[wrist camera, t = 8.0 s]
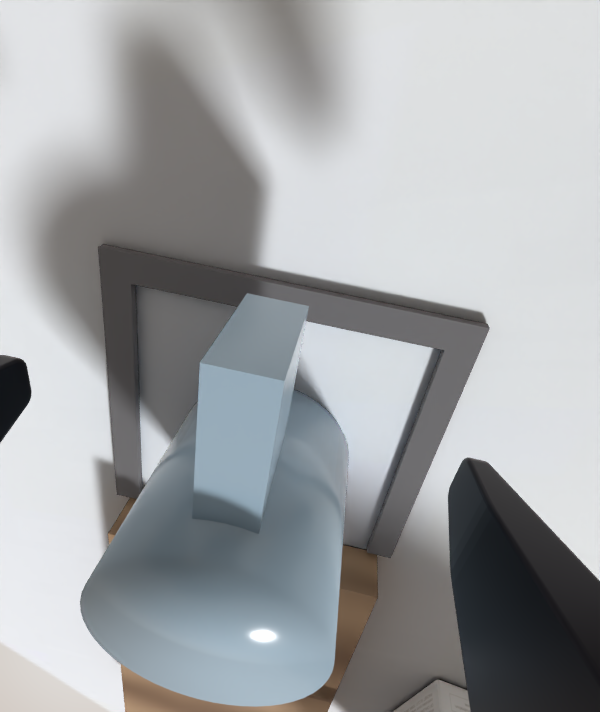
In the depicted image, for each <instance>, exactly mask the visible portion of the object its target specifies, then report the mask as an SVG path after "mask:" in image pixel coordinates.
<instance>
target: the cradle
mask: <svg viewBox="0 0 600 712" xmlns="http://www.w3.org/2000/svg"><path fill="white" fill-rule="evenodd" d="M136 500H137V499H135V498H130V499H129V501H128V502H127V504H126V505H125V507H124V509H123V510H122V512H121V514H120V515H119V517H118V518H117V520H116V522H115V523H114V525H113V526H112V528H111V530H110V531H109V533H108V539H109V545H110V543H111V541H112V540H113V538H114V536H115V535H116V533H117V531H118V530H119V528H120V526H121V525H122V523H123V521H124V520H125V518H126V517H127V515H128V513H129V512H130V510H131V508H132V507H133V505H134V503H135V502H136ZM377 598H378V579H377V555H375V554H371V553H367V550H363V549H359V548H355V547H350V546H346V545H343V548H342V562H341V576H340V590H339V604H338V619H337V633H336V647H335V661H334V667H333V671H332V673H331V675H330V677H329V679H328V680H327V682H326V683H325V684H324V685H323V686H322V687H321V688H320V689H318V690H317V691H316V692H314V693H313V694H311V695H309V696H307V697H305V698H302V699H299V700H297V701H294V702H290V703H285V704H280V705H273V706H258V707H253V706H235V705H226V704H219V703H213V702H209V701H204V700H200V699H196V698H193V697H189V696H186V695H183V694H180V693H177V692H174V691H171V690H169V689H166V688H164V687H162V686H159V685H157V684H155V683H153V682H151V681H149V680H147V679H145V678H143V677H141V676H139V675H138V674H136V673H134V672H132V671H131V670H130V669H128V668H127V667H125V666H124V665H122V664H121V672H122V682H123V692H124V702H125V712H328V709H329V707H330V705H331V702H332V700H333V698H334V696H335V693H336V691H337V689H338V687H339V684H340V682H341V680H342V677H343V675H344V673H345V671H346V668H347V666H348V664H349V662H350V659H351V657H352V655H353V652H354V650H355V648H356V646H357V643H358V641H359V639H360V637H361V634H362V632H363V630H364V628H365V625H366V623H367V621H368V618H369V616H370V614H371V612H372V609H373V607H374V605H375V603H376V600H377Z"/></svg>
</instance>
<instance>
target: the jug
mask: <svg viewBox="0 0 600 712" xmlns="http://www.w3.org/2000/svg"><path fill="white" fill-rule="evenodd" d="M308 309H309V306H306V305H302V304H297V303H292V302H287V301H282V300H277V299H273V298H268V297H263V296H258V295H253V294H249V293H247V294H246V295H245V297H244V298H243V300H242V301H241V303H240V304H239V306H238V307H237V309H236V310H235V312H234V313H233V315H232V316H231V318H230V319H229V320H228V322H227V323H226V325H225V326H224V328H223V329H222V331H221V332H220V334H219V335H218V337H217V338H216V340H215V341H214V343H213V344H212V345H211V347H210V348H209V350H208V351H207V353H206V354H205V356H204V357H203V359H202V360H201V362H200V368H199V389H198V402H197V403H196V404H195V405H194V406H193V408H192V409H191V410H190V412H189V414H188V415H187V417H186V419H185V420H184V422H183V424H182V425H181V427H180V429H179V430H178V432H177V434H176V435H175V437H174V439H173V440H172V442H171V444H170V445H169V447H168V449H167V450H166V452H165V454H164V455H163V457H162V459H161V460H160V462H159V463H158V465H157V467H156V468H155V470H154V472H153V473H152V475H151V477H150V478H149V480H148V482H147V483H146V485H145V487H144V488H143V490H142V492H141V493H140V495H139V497H138V498H137V500H136V502H135V503H134V505H133V507H132V508H131V510H130V512H129V513H128V515H127V517H126V518H125V520H124V521H123V523H122V525H121V526H120V528H119V530H118V531H117V533H116V535H115V536H114V538H113V540H112V541H111V543H110V545H109V546H108V548H107V550H106V551H105V553H104V555H103V556H102V558H101V560H100V561H99V563H98V565H97V566H96V568H95V570H94V571H93V573H92V574H91V576H90V578H89V579H88V581H87V583H86V584H85V587H84V589H83V591H82V594H81V600H80V606H81V613H82V617H83V620H84V622H85V624H86V626H87V628H88V630H89V632H90V633H91V635H92V636H93V637H94V639H95V640H96V641H97V642H98V643H99V645H100V646H101V647H102V648H103V649H104V650H105V651H106V652H107V653H108V654H110V655H111V656H112V657H113V658H114V659H116V660H117V661H118V662H119V663H121V664H122V665H124V666H125V667H127V668H128V669H130V670H131V671H132V672H134V673H136V674H138V675H139V676H141V677H143V678H145V679H147V680H149V681H151V682H153V683H155V684H157V685H159V686H162V687H164V688H166V689H169V690H171V691H174V692H177V693H180V694H183V695H186V696H189V697H193V698H196V699H200V700H204V701H209V702H213V703H219V704H226V705H235V706H253V707H258V706H273V705H280V704H285V703H290V702H294V701H297V700H299V699H302V698H305V697H307V696H309V695H311V694H313V693H314V692H316V691H317V690H318V689H320V688H321V687H322V686H323V685H324V684H325V683H326V682H327V680H328V679H329V677H330V675H331V673H332V671H333V667H334V661H335V647H336V633H337V619H338V604H339V590H340V576H341V562H342V548H343V533H344V519H345V505H346V491H347V477H348V463H349V452H348V445H347V442H346V439H345V436H344V434H343V432H342V430H341V428H340V426H339V425H338V423H337V422H336V420H335V419H334V418H333V416H332V415H331V414H330V413H329V412H328V411H327V410H326V409H325V408H324V407H322V406H321V405H320V404H319V403H318V402H316V401H315V400H313V399H312V398H310V397H309V396H307V395H305V394H303V393H301V392H299V391H297V390H294V384H295V379H296V374H297V368H298V363H299V357H300V352H301V347H302V341H303V336H304V330H305V325H306V320H307V314H308Z"/></svg>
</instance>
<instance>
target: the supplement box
mask: <svg viewBox="0 0 600 712" xmlns="http://www.w3.org/2000/svg"><path fill="white" fill-rule="evenodd" d="M393 712H470V705H469V698H468V691H467V690H465V689H462V688H460V687H457V686H454V685H452V684H449V683H447V682H444V681H441V680H435V681H434V682H433V683H431V684H430V685H429V686H427V687H426V688H425V689H423V690H422V691H420V692H419V693H418V694H416V695H415V696H414V697H412V698H411V699H410V700H408V701H407V702H405V703H404V704H403V705H401V706H400V707H398V708H397V709H396V710H394V711H393Z"/></svg>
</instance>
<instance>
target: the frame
mask: <svg viewBox="0 0 600 712" xmlns="http://www.w3.org/2000/svg"><path fill="white" fill-rule="evenodd" d="M98 251H99V264H100V277H101V290H102V304H103V317H104V330H105V343H106V356H107V369H108V382H109V396H110V409H111V422H112V435H113V448H114V461H115V475H116V488H117V495H122V496H126V497H130V498H135V499H137V498H138V497H139V495H140V493H141V492H142V468H141V438H140V408H139V378H138V348H137V317H136V287H135V285H138V286H143V287H147V288H152V289H157V290H161V291H166V292H171V293H176V294H180V295H185V296H190V297H195V298H199V299H204V300H209V301H214V302H218V303H223V304H228V305H233V306H237V307H238V306H239V304H240V303H241V301H242V300H243V298H244V297H245V295H246V294H247V293H249V294H253V295H258V296H263V297H268V298H273V299H277V300H282V301H287V302H292V303H297V304H302V305H306V306H309V309H308V314H307V320H306V321H308V322H313V323H318V324H322V325H327V326H332V327H337V328H341V329H346V330H351V331H356V332H360V333H365V334H370V335H375V336H379V337H384V338H389V339H393V340H398V341H403V342H408V343H412V344H417V345H422V346H427V347H431V348H436V349H441V350H442V351H441V353H440V356H439V358H438V361H437V364H436V366H435V369H434V372H433V374H432V377H431V380H430V382H429V385H428V387H427V390H426V393H425V395H424V398H423V401H422V403H421V406H420V409H419V411H418V414H417V416H416V419H415V422H414V424H413V427H412V430H411V432H410V435H409V438H408V440H407V443H406V445H405V448H404V451H403V453H402V456H401V459H400V461H399V464H398V467H397V469H396V472H395V474H394V477H393V480H392V482H391V485H390V488H389V490H388V493H387V496H386V498H385V501H384V503H383V506H382V509H381V511H380V514H379V517H378V519H377V522H376V525H375V527H374V530H373V532H372V535H371V538H370V540H369V543H368V546H367V553H371V554H375V555H379V556H384V557H388V558H391V556H392V553H393V551H394V549H395V546H396V544H397V542H398V539H399V537H400V535H401V532H402V530H403V528H404V526H405V523H406V521H407V519H408V516H409V514H410V512H411V509H412V507H413V505H414V502H415V500H416V498H417V495H418V493H419V491H420V488H421V486H422V484H423V482H424V479H425V477H426V475H427V472H428V470H429V468H430V465H431V463H432V461H433V458H434V456H435V454H436V451H437V449H438V447H439V444H440V442H441V440H442V438H443V435H444V433H445V431H446V428H447V426H448V424H449V421H450V419H451V417H452V414H453V412H454V410H455V407H456V405H457V403H458V400H459V398H460V396H461V394H462V391H463V389H464V387H465V384H466V382H467V380H468V377H469V375H470V373H471V370H472V368H473V366H474V363H475V361H476V359H477V356H478V354H479V352H480V350H481V347H482V345H483V343H484V340H485V338H486V336H487V333H488V331H489V329H490V328H489V326H488V324H485V323H480V322H475V321H470V320H466V319H461V318H456V317H451V316H446V315H442V314H437V313H432V312H427V311H422V310H417V309H413V308H408V307H403V306H398V305H393V304H389V303H384V302H379V301H374V300H369V299H365V298H360V297H355V296H350V295H345V294H340V293H336V292H331V291H326V290H321V289H316V288H312V287H307V286H302V285H297V284H292V283H288V282H283V281H278V280H273V279H268V278H263V277H259V276H254V275H249V274H244V273H239V272H235V271H230V270H225V269H220V268H215V267H210V266H206V265H201V264H196V263H191V262H186V261H182V260H177V259H172V258H167V257H162V256H158V255H153V254H148V253H143V252H138V251H133V250H129V249H124V248H119V247H114V246H109V245H105V244H103V245H101V246H99V247H98Z"/></svg>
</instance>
